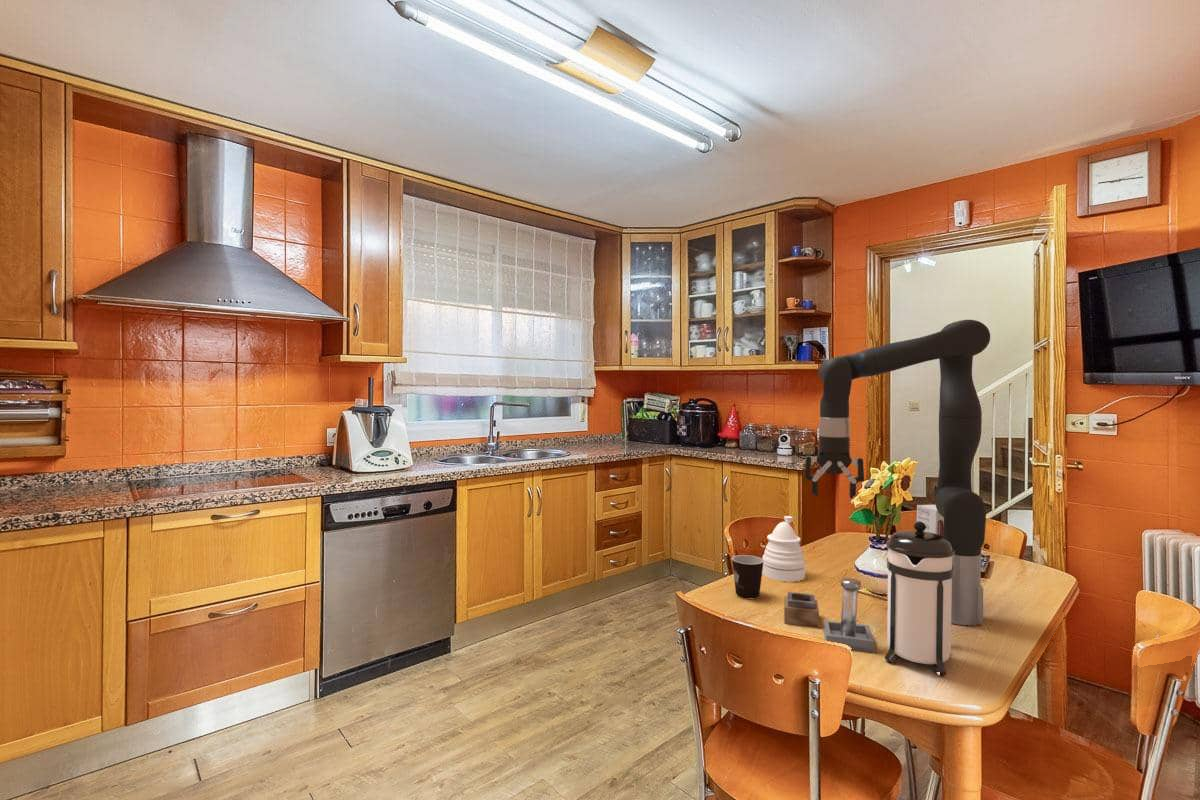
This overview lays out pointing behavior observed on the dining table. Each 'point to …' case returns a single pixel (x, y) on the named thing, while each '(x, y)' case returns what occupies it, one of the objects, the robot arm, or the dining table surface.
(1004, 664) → the dining table surface
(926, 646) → the coffee press
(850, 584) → the pin
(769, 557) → the honey pot
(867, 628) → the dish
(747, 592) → the coffee mug
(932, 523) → the supplement box
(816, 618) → the block
